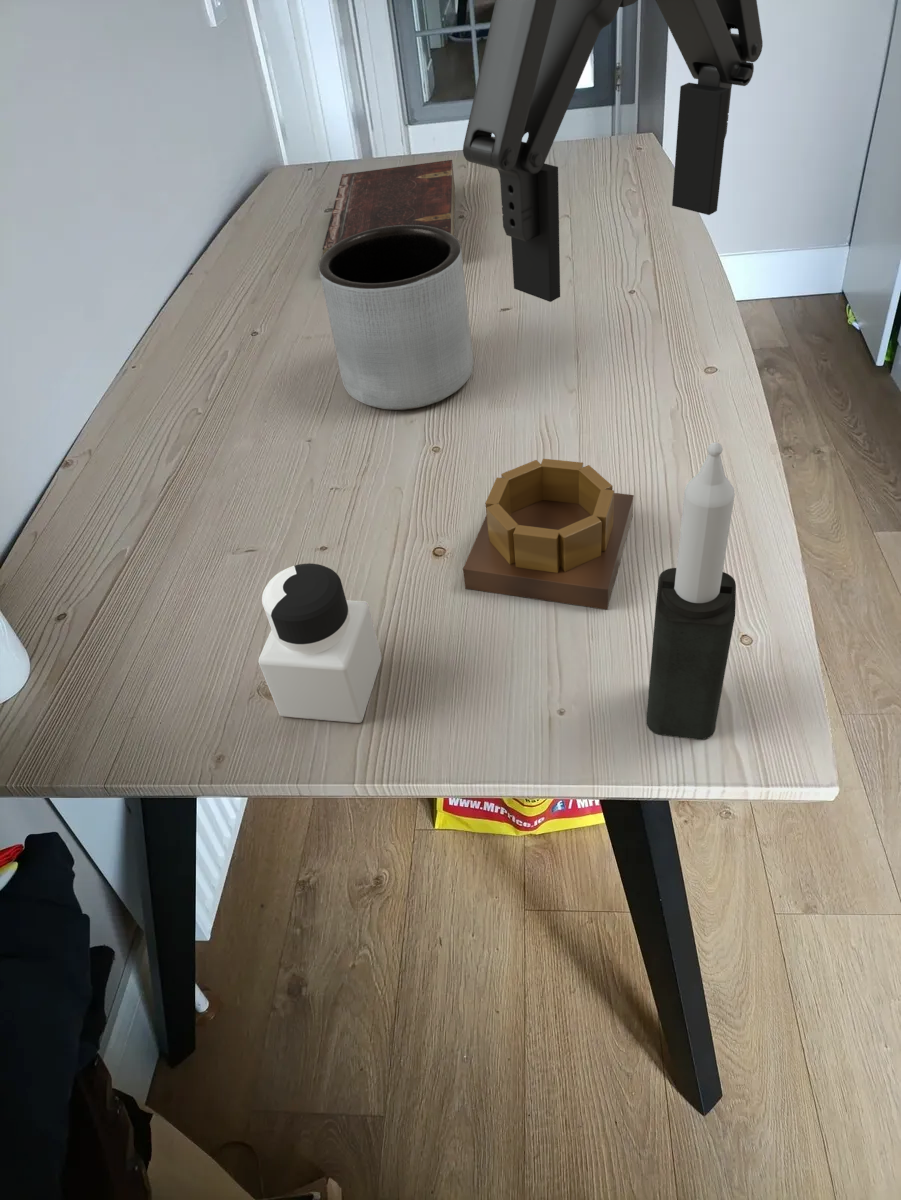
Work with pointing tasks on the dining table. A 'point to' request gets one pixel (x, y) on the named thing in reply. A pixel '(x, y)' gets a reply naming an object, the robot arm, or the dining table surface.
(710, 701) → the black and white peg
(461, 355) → the planter
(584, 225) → the dining table surface
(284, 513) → the dining table surface
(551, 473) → the stand
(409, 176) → the hardback book
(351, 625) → the medicine bottle
